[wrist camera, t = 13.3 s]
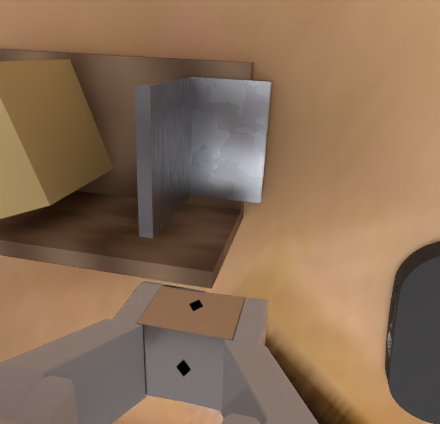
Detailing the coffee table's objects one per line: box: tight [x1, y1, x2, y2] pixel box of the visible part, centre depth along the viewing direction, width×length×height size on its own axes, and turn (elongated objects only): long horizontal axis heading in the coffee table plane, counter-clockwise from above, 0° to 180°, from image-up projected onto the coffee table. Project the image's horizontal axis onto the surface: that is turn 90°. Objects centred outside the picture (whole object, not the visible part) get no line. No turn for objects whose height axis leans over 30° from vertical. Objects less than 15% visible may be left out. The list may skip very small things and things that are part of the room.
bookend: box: [134, 76, 272, 238], centre depth 24 cm, size 6×8×8 cm
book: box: [0, 59, 114, 219], centre depth 26 cm, size 4×8×8 cm, turn 18°
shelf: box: [0, 49, 253, 288], centre depth 26 cm, size 26×11×10 cm, turn 87°
